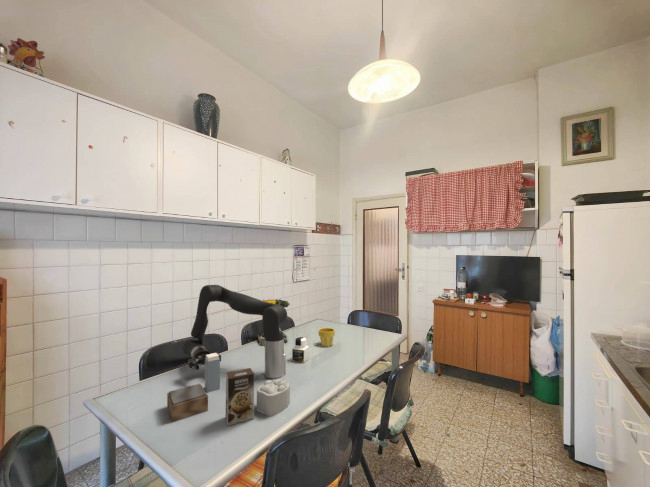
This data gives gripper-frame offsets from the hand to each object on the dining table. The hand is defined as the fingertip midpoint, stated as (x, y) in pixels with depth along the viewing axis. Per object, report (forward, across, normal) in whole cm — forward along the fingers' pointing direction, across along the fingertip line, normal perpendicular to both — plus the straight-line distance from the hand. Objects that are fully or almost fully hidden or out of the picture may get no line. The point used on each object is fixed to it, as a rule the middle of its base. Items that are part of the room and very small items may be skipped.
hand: (208, 365), depth 129 cm
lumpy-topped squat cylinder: (+36, +16, +8) cm, 40 cm away
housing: (+7, 0, +8) cm, 11 cm away
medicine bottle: (+3, +48, +8) cm, 49 cm away
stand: (+18, -12, +8) cm, 23 cm away
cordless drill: (-37, +51, +8) cm, 64 cm away
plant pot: (-8, +74, +8) cm, 75 cm away
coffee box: (+36, +2, +8) cm, 37 cm away
